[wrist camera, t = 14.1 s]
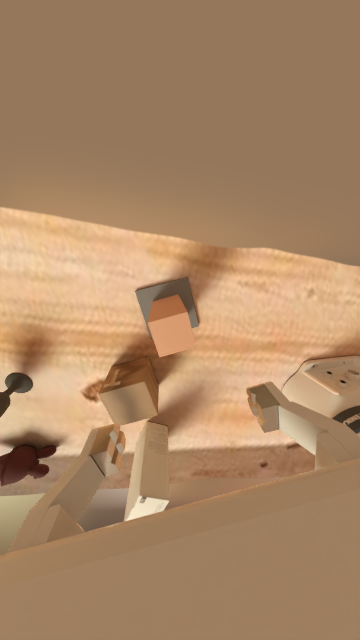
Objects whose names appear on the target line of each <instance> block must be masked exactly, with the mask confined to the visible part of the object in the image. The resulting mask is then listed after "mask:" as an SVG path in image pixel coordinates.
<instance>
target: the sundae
mask: <svg viewBox="0 0 360 640" xmlns="http://www.w3.org/2000/svg"><path fill="white" fill-rule="evenodd" d="M5 384H6V386H7V387H8V389H7V390H6V391H4V392H0V417H1V416H2V415H3V414H4V412H5V411H6V410H7V408H8V407H9V405H10V397H9V395H11V394H12V393H13V392H17V393H25V392H28V391H29V390H31V388H32V381H31V380H30V378H29V377H27V376H26V375H23V374H20V373H13V374H10V375H8V376H7V377H6V380H5Z"/></svg>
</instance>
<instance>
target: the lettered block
mask: <svg viewBox="0 0 360 640" xmlns="http://www.w3.org/2000/svg"><path fill="white" fill-rule="evenodd" d="M158 391H159V385H158V382H157V380H156V377H155V374H154V371H153V369H152V366H151V363H150V360H149V358H148V357H144V358H141V359H137V360H133V361H130V362H126V363H122V364H119V365H115V366H112V367H111V369H110V371H109V373H108V375H107V378H106V380H105V382H104V384H103V386H102V388H101V390H100V392H99V396H100V398H101V400H102V402H103V404H104V406H105V407H106V409H107V411H108V413H109V415H110V417H111V419H112V420H113V422H114V424H116V423H118V424H119V426H122V425H125V424H129V423H132V422H136V421H139V420H143V419H147V418H150V417H154V416H157V415H158Z"/></svg>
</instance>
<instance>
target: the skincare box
mask: <svg viewBox="0 0 360 640" xmlns="http://www.w3.org/2000/svg"><path fill="white" fill-rule="evenodd" d="M169 500H170V499H169V458H168V427H167V426H164V425H161V424H157V423H153V422H149V421H147V422H146V424H145V426H144V428H143V430H142V432H141V434H140V436H139V439H138V441H137V443H136V448H135V454H134V460H133V466H132V473H131V479H130V486H129V492H128V499H127V505H126V511H125V519H124V521H128V520H132V519H135V518H139V517H143V516H146V515H150V514H154V513H157V512H161V511H163V510H164V509H165V507H166V506H167V504H168V502H169Z"/></svg>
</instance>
